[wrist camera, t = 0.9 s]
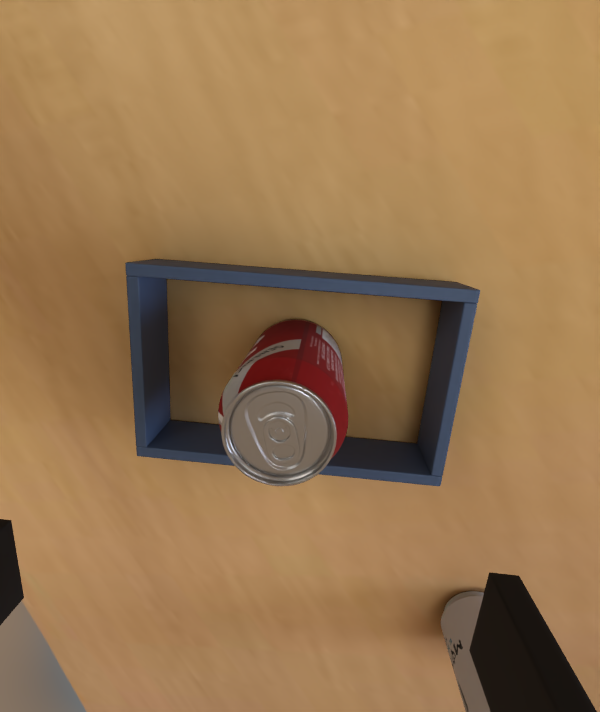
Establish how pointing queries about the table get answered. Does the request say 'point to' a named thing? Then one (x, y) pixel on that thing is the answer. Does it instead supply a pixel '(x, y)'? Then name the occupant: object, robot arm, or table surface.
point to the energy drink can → (464, 646)
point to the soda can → (285, 405)
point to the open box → (151, 277)
